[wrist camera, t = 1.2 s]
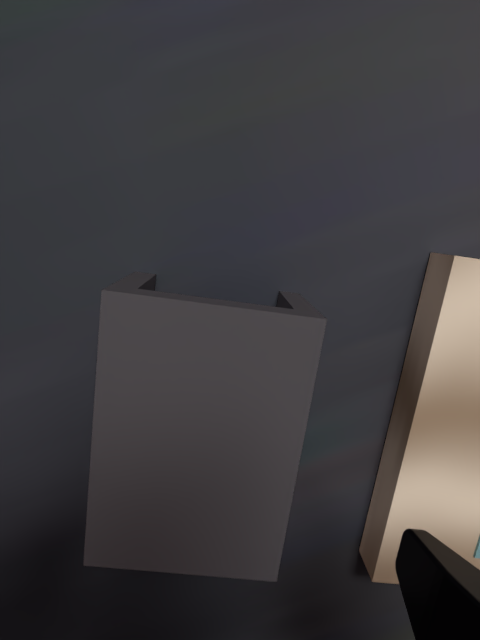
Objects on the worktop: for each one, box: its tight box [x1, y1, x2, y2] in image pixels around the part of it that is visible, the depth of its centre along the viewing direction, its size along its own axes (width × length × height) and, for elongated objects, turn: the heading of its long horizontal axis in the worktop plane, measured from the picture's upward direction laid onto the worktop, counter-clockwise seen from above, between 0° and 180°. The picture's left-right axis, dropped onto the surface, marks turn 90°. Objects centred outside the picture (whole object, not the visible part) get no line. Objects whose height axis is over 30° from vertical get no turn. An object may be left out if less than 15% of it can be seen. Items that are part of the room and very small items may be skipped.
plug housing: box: [83, 272, 327, 582], centre depth 13 cm, size 8×6×4 cm
